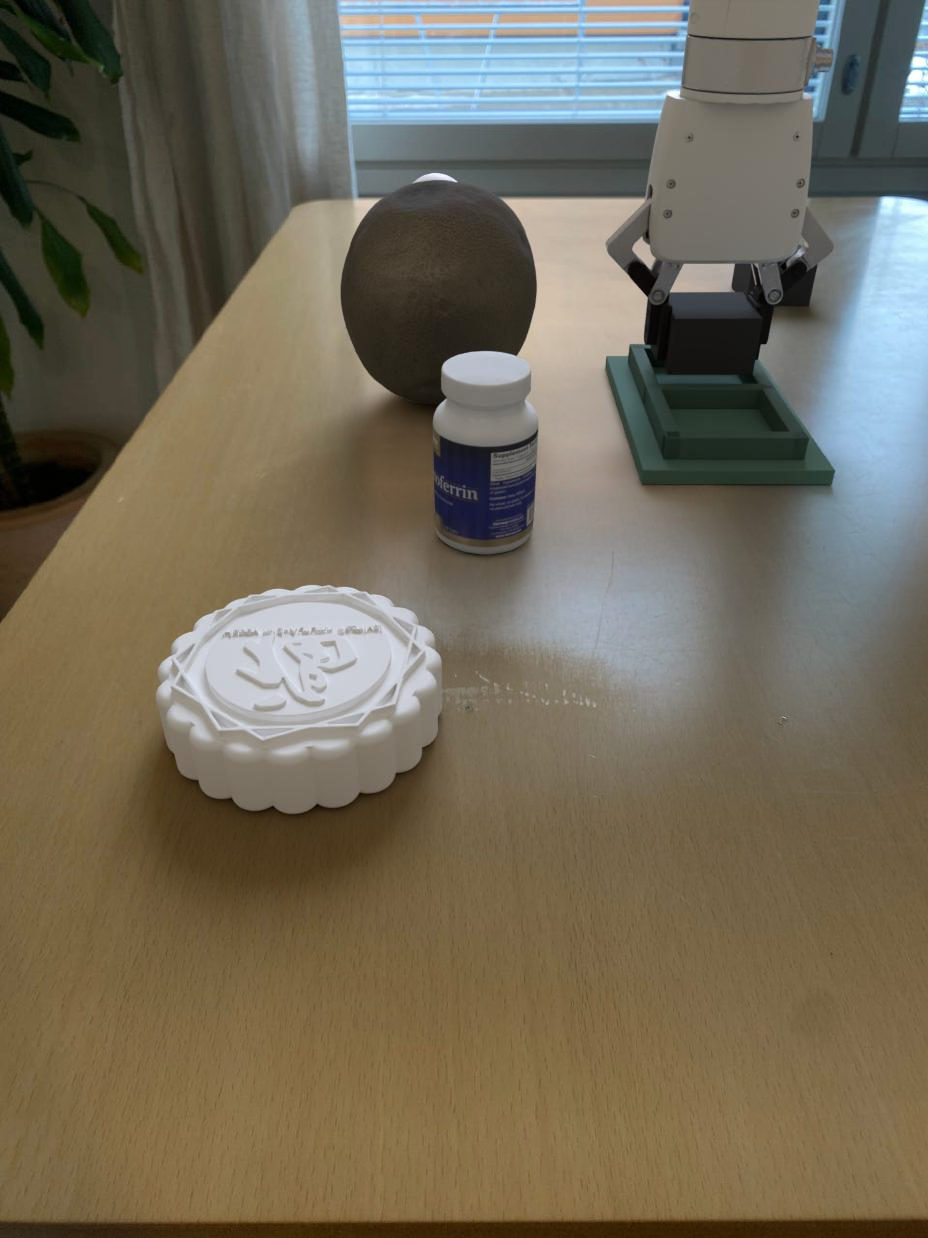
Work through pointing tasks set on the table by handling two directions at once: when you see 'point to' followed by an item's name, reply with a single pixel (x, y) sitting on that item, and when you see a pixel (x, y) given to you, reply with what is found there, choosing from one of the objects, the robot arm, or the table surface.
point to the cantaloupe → (436, 284)
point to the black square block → (712, 334)
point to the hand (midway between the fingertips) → (703, 351)
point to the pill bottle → (485, 453)
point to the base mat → (711, 426)
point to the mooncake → (300, 697)
